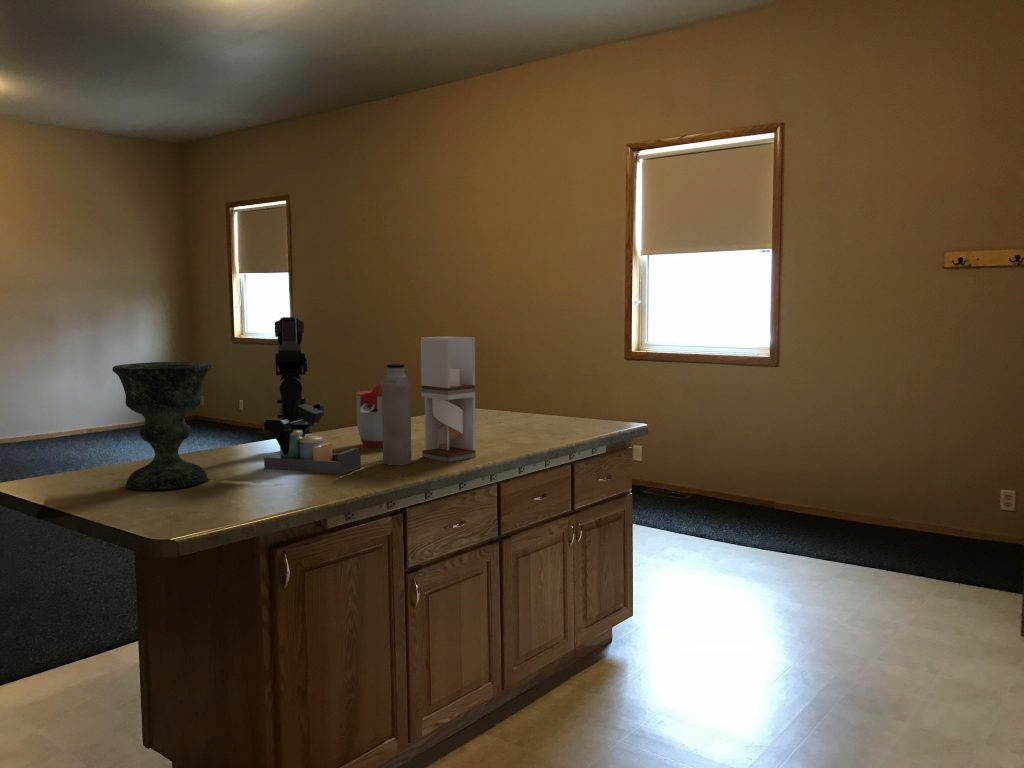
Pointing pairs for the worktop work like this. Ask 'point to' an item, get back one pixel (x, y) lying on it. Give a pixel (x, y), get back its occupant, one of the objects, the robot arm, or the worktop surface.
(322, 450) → the bar
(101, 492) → the worktop surface
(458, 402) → the spiral ramp tower
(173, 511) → the worktop surface
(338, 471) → the grey open rectangular box
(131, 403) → the goblet
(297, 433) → the teal jar
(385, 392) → the thermos bottle
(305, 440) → the slate jar
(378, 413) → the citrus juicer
